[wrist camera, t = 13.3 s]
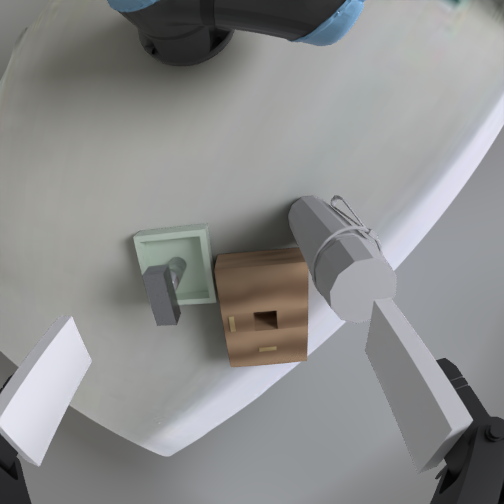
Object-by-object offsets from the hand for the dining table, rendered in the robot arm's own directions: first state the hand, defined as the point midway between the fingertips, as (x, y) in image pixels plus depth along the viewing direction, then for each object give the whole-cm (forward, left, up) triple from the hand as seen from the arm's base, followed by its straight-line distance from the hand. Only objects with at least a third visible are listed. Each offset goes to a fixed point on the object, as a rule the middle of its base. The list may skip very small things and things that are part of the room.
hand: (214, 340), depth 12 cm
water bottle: (+5, +11, -37) cm, 39 cm away
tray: (+12, -12, -36) cm, 40 cm away
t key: (+12, -12, -36) cm, 39 cm away
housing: (+21, +2, -36) cm, 42 cm away
